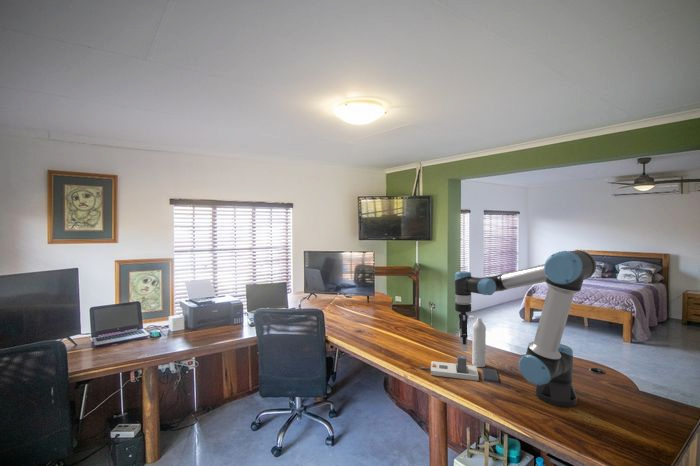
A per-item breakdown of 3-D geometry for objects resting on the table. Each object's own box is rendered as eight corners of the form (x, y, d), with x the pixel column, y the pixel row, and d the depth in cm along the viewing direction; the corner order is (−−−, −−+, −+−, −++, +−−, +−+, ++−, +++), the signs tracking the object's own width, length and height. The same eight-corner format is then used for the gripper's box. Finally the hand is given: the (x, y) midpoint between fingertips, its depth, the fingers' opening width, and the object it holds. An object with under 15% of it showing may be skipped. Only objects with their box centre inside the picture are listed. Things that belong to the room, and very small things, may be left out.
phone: (496, 373, 169) (496, 369, 169) (498, 383, 158) (498, 379, 158) (482, 371, 171) (482, 367, 171) (483, 381, 160) (483, 377, 160)
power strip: (476, 370, 171) (476, 364, 171) (478, 380, 159) (478, 374, 159) (420, 364, 178) (420, 358, 178) (419, 373, 167) (419, 367, 166)
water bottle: (487, 365, 177) (488, 317, 177) (481, 368, 173) (482, 320, 172) (471, 360, 184) (472, 314, 183) (465, 363, 179) (466, 316, 179)
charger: (465, 371, 168) (465, 355, 168) (466, 375, 165) (466, 358, 164) (457, 370, 170) (457, 354, 169) (457, 374, 166) (457, 357, 165)
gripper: (454, 298, 179) (454, 337, 179) (456, 308, 155) (456, 354, 155) (469, 298, 177) (469, 339, 177) (473, 308, 153) (473, 355, 153)
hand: (463, 346), depth 166 cm, fingers open, 13 cm apart
